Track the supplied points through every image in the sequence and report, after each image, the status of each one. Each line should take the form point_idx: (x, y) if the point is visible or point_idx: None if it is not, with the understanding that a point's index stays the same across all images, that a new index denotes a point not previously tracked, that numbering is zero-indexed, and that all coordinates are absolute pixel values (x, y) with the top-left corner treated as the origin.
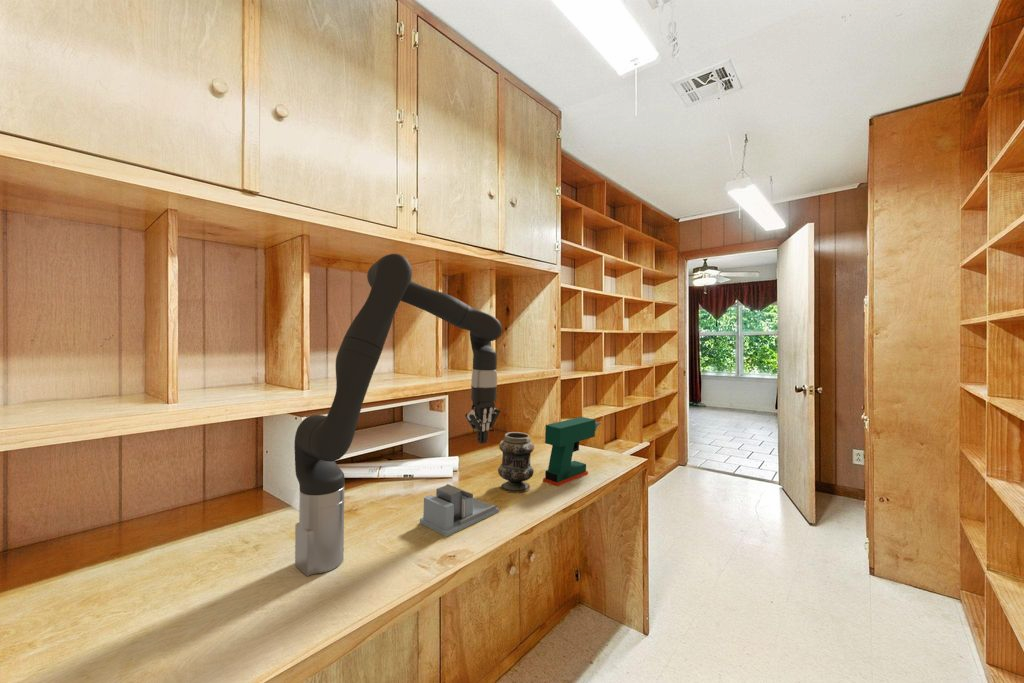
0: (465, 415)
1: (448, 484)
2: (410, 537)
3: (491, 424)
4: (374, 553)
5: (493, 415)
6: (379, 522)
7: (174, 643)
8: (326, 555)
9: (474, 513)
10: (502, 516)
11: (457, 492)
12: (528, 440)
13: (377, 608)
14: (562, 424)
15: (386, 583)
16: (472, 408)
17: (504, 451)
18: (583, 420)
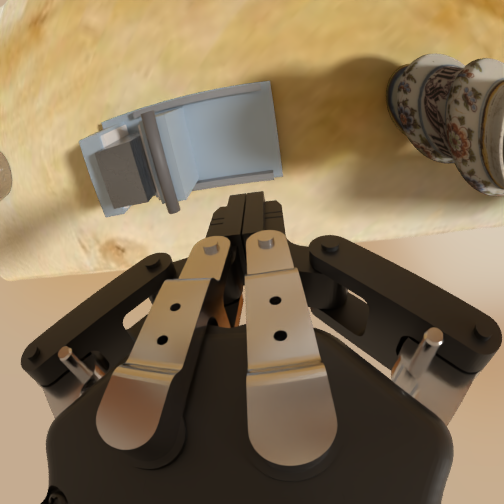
0: (24, 356)
1: (147, 116)
2: (79, 165)
3: (324, 313)
4: (37, 183)
5: (392, 355)
6: (53, 85)
7: None
8: None
9: (214, 164)
10: (273, 194)
11: (132, 204)
12: None
13: (45, 274)
14: None
15: (49, 249)
16: (60, 438)
17: (446, 113)
18: None
